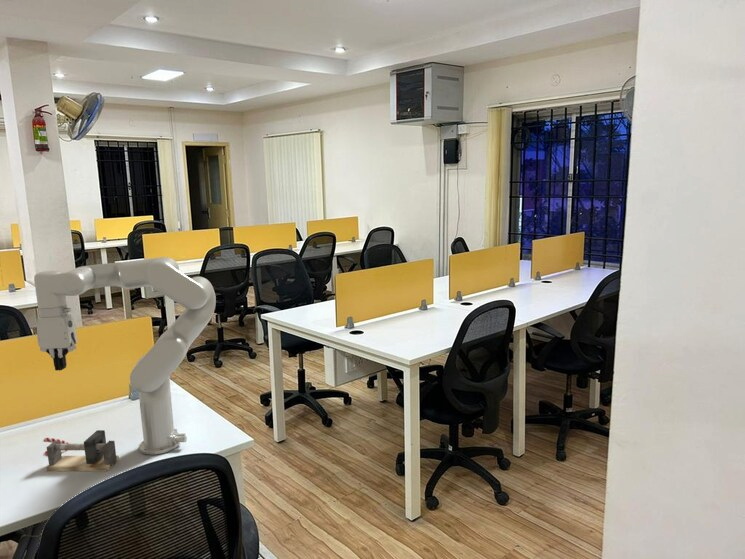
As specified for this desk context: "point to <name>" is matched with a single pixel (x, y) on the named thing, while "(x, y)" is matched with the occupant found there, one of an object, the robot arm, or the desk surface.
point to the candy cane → (56, 440)
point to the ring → (94, 446)
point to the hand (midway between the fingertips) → (60, 368)
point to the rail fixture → (80, 457)
